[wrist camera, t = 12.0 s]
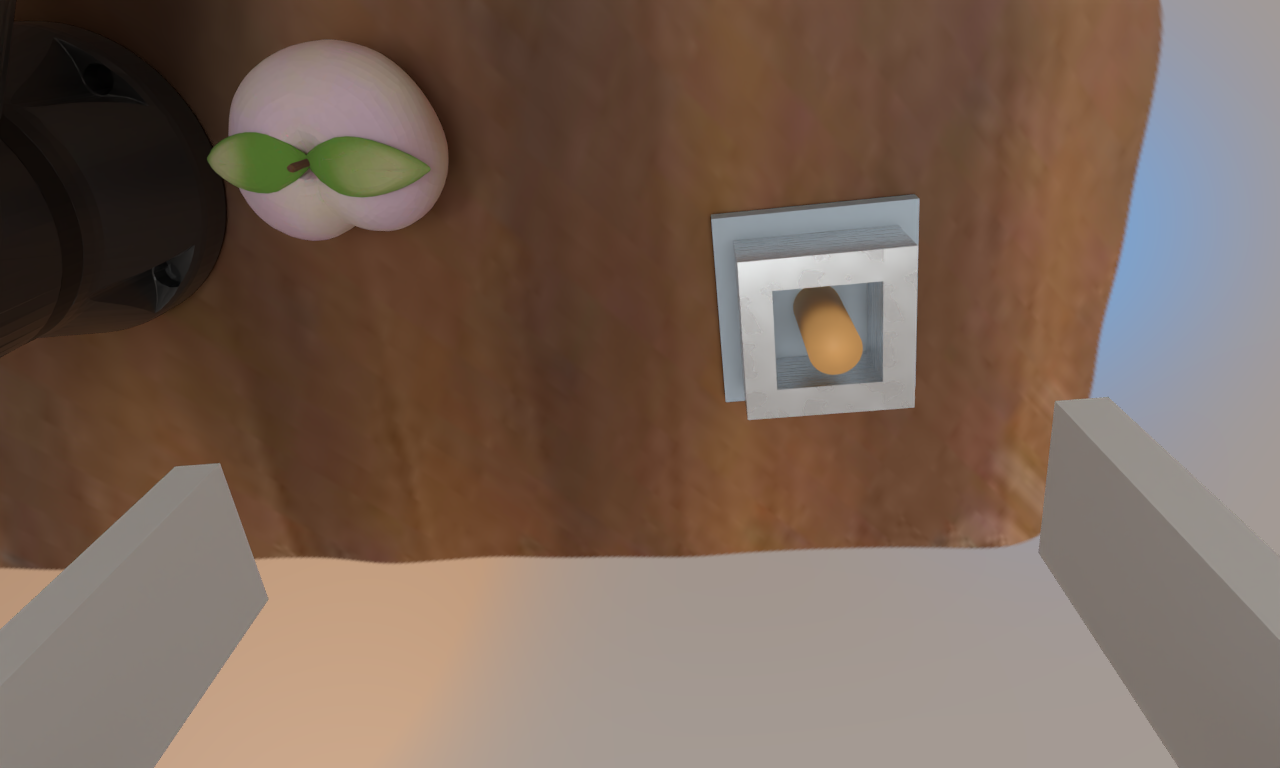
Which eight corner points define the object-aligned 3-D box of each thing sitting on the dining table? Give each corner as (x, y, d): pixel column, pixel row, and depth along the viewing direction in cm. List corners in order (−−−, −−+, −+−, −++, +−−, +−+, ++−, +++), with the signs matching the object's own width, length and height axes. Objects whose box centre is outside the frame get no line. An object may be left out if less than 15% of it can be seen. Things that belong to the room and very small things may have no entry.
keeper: (725, 394, 46) (730, 456, 40) (710, 214, 42) (714, 251, 36) (910, 379, 45) (946, 440, 39) (914, 194, 41) (955, 228, 35)
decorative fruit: (448, 21, 39) (375, 26, 30) (486, 196, 43) (431, 248, 33) (259, 52, 40) (134, 66, 31) (311, 220, 44) (211, 277, 34)
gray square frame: (743, 386, 45) (747, 419, 41) (733, 240, 42) (737, 262, 38) (896, 374, 44) (914, 407, 41) (897, 224, 41) (917, 245, 37)
